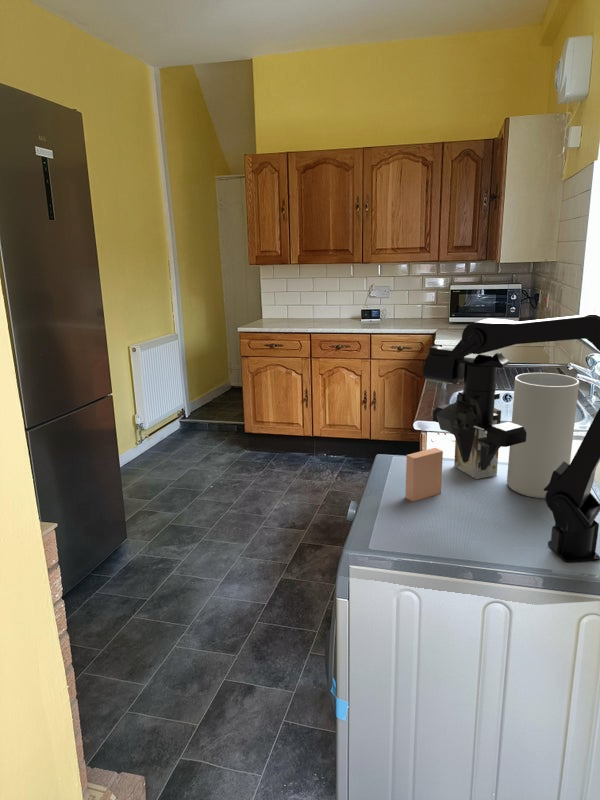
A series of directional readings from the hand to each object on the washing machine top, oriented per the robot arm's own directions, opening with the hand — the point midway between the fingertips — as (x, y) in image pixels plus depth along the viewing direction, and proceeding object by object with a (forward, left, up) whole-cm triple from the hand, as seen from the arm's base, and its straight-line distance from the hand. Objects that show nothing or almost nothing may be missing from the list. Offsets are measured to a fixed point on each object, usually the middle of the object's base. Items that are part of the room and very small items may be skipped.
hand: (474, 465), depth 110 cm
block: (+6, -13, -12) cm, 19 cm away
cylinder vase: (-20, -14, -12) cm, 27 cm away
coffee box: (-10, -25, -12) cm, 30 cm away
